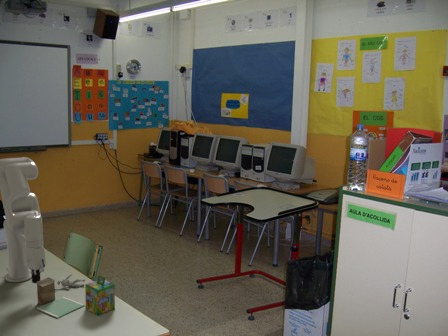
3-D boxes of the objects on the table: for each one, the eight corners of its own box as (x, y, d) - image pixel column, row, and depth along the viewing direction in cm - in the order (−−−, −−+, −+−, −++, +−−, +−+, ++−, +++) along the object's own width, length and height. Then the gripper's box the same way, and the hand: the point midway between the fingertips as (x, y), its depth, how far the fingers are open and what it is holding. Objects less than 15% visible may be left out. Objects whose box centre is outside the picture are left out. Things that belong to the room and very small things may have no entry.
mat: (36, 309, 202) (36, 308, 202) (63, 297, 214) (63, 296, 214) (57, 318, 195) (57, 317, 195) (84, 305, 206) (84, 304, 206)
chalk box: (85, 309, 203) (84, 277, 201) (102, 302, 210) (102, 270, 208) (97, 316, 197) (97, 283, 195) (115, 308, 204) (115, 276, 202)
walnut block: (37, 303, 208) (36, 281, 206) (49, 298, 213) (48, 277, 211) (43, 305, 206) (42, 284, 204) (55, 300, 211) (54, 279, 209)
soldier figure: (83, 291, 224) (58, 287, 219) (80, 294, 227) (55, 290, 222) (85, 275, 228) (60, 271, 223) (83, 279, 232) (58, 275, 227)
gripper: (16, 241, 210) (18, 280, 213) (37, 248, 202) (39, 288, 205) (31, 237, 216) (33, 275, 219) (52, 243, 208) (54, 283, 211)
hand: (36, 281), depth 212 cm, fingers closed
